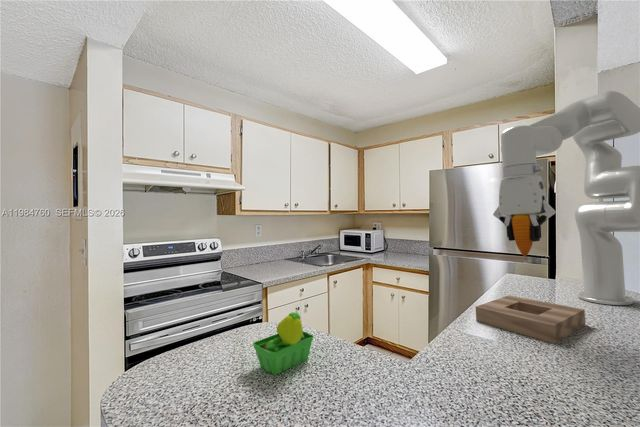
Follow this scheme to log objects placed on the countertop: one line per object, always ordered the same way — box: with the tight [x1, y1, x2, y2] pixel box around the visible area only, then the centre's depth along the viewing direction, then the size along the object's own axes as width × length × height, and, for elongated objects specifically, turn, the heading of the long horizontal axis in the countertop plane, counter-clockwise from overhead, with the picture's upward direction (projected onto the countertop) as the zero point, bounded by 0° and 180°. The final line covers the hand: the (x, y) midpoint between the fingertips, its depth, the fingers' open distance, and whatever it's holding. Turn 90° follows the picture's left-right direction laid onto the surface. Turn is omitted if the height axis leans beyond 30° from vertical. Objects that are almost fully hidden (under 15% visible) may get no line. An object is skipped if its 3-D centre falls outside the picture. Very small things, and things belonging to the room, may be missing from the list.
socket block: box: [474, 294, 586, 344], centre depth 76 cm, size 18×18×4 cm
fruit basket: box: [252, 311, 314, 376], centre depth 61 cm, size 11×9×11 cm
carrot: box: [512, 205, 533, 257], centre depth 77 cm, size 5×5×15 cm
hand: (523, 239), depth 77 cm, fingers closed on carrot, 4 cm apart
